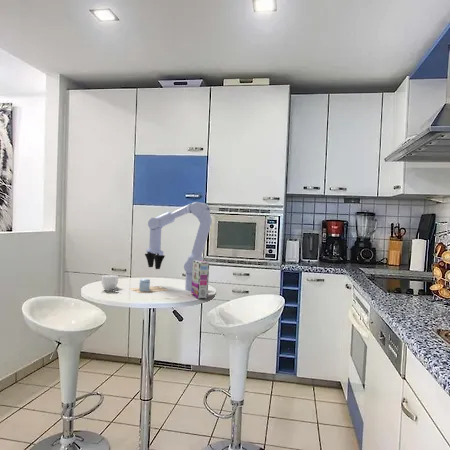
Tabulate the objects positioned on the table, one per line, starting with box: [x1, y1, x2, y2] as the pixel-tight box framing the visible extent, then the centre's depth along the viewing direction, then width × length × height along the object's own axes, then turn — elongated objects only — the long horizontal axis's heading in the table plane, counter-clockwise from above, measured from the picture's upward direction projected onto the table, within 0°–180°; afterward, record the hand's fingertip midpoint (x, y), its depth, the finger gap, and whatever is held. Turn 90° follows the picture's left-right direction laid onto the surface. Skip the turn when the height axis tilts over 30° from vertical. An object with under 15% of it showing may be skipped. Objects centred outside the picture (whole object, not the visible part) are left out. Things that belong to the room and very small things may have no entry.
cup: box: [101, 274, 119, 292], centre depth 190 cm, size 8×10×7 cm
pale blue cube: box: [138, 278, 151, 291], centre depth 186 cm, size 5×5×5 cm
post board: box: [129, 286, 169, 294], centre depth 189 cm, size 12×16×1 cm
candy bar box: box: [190, 260, 210, 300], centre depth 181 cm, size 11×5×16 cm, turn 21°
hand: (154, 268), depth 200 cm, fingers open, 7 cm apart
